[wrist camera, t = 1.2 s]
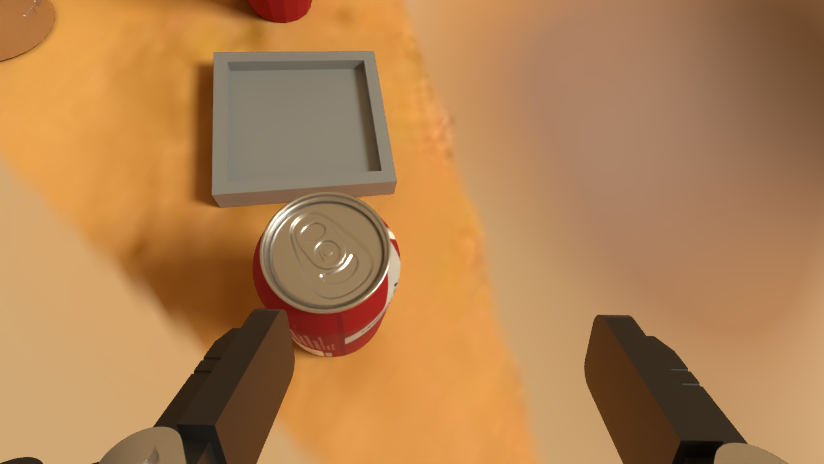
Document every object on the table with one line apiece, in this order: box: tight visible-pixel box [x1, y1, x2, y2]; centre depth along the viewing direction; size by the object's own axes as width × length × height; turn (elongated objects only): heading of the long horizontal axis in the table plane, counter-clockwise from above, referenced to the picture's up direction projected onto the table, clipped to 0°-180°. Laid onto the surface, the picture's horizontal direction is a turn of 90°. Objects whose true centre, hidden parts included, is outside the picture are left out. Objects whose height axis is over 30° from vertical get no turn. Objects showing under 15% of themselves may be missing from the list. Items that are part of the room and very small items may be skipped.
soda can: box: [253, 191, 400, 357], centre depth 23 cm, size 7×7×12 cm
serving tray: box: [212, 51, 397, 208], centre depth 32 cm, size 13×13×2 cm
